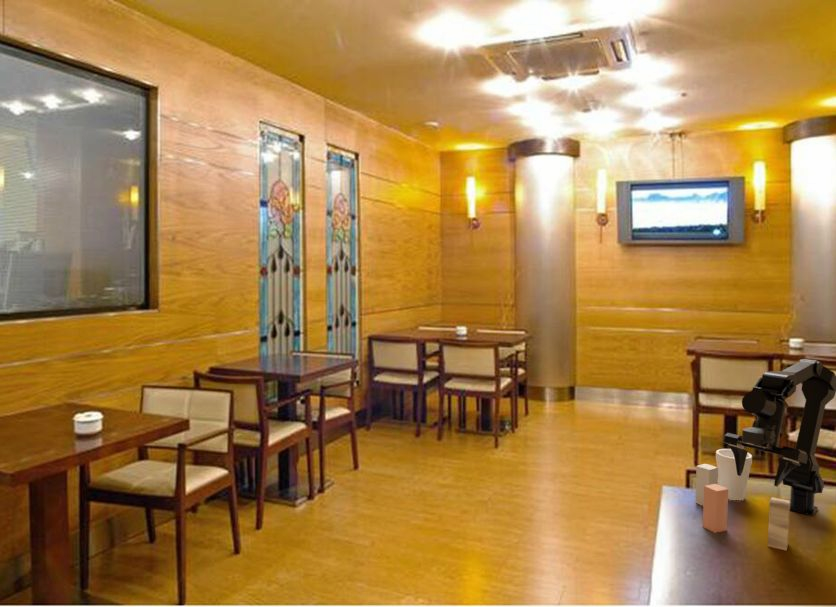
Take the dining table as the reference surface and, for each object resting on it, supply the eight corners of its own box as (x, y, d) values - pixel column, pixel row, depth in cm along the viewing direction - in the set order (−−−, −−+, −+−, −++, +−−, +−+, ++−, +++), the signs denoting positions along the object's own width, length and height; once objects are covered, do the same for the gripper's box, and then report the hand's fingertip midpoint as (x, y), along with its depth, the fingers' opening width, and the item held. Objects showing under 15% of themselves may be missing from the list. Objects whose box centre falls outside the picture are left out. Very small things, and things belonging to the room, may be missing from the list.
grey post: (704, 500, 182) (705, 463, 181) (716, 505, 178) (718, 467, 177) (695, 503, 180) (696, 465, 179) (708, 508, 176) (709, 469, 175)
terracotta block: (713, 524, 166) (715, 483, 165) (726, 530, 162) (728, 488, 161) (702, 526, 164) (704, 485, 163) (715, 533, 160) (716, 491, 160)
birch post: (769, 540, 156) (771, 497, 156) (787, 544, 154) (789, 500, 153) (767, 546, 153) (769, 502, 152) (786, 550, 151) (788, 506, 150)
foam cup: (754, 504, 179) (756, 459, 178) (719, 502, 181) (721, 457, 180) (744, 492, 188) (745, 449, 187) (711, 489, 190) (712, 447, 189)
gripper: (718, 407, 164) (705, 466, 163) (794, 423, 149) (781, 488, 147) (739, 415, 171) (726, 472, 169) (813, 431, 156) (801, 493, 154)
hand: (756, 480), depth 159 cm, fingers open, 9 cm apart
